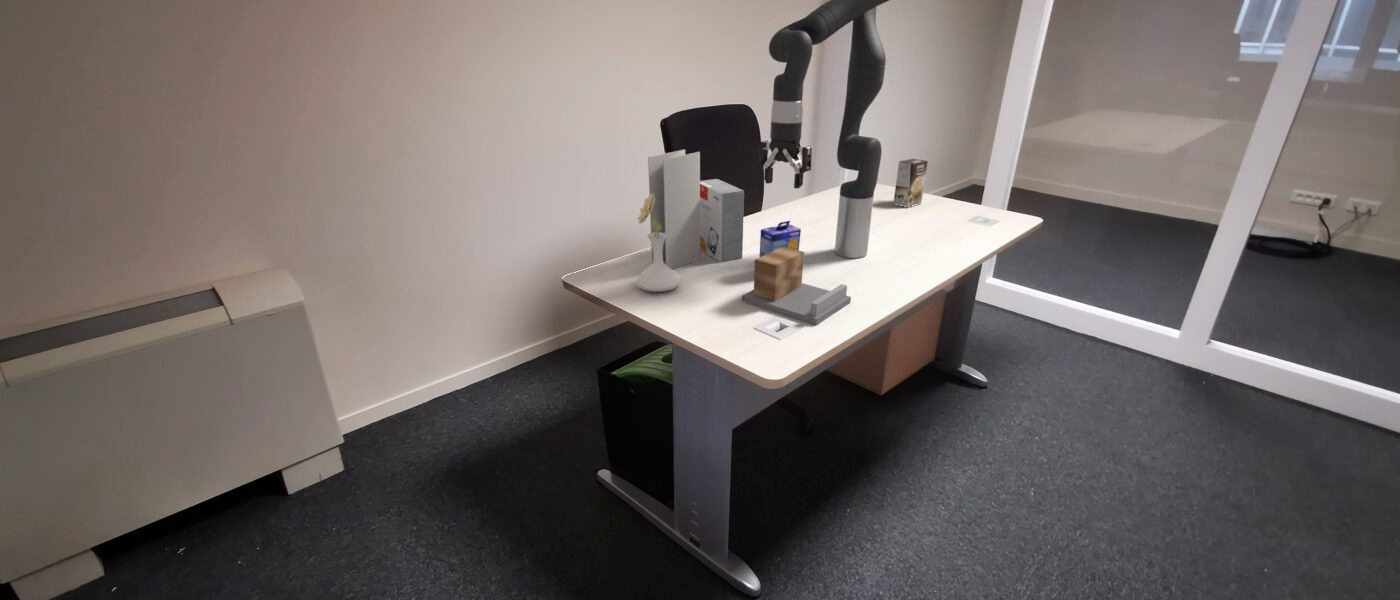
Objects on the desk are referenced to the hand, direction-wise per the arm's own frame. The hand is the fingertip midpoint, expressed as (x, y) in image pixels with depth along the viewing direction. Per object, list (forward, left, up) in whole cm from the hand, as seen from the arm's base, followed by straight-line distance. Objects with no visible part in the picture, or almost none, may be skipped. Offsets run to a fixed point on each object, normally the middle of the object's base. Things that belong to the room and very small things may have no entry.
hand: (782, 185), depth 158 cm
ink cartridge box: (0, 0, -24) cm, 24 cm away
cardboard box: (+14, +9, -22) cm, 28 cm away
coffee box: (-88, -1, -24) cm, 91 cm away
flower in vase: (+29, -17, -24) cm, 41 cm away
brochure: (+12, -26, -24) cm, 37 cm away
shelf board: (+14, +14, -24) cm, 31 cm away
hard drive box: (-2, -22, -24) cm, 32 cm away
